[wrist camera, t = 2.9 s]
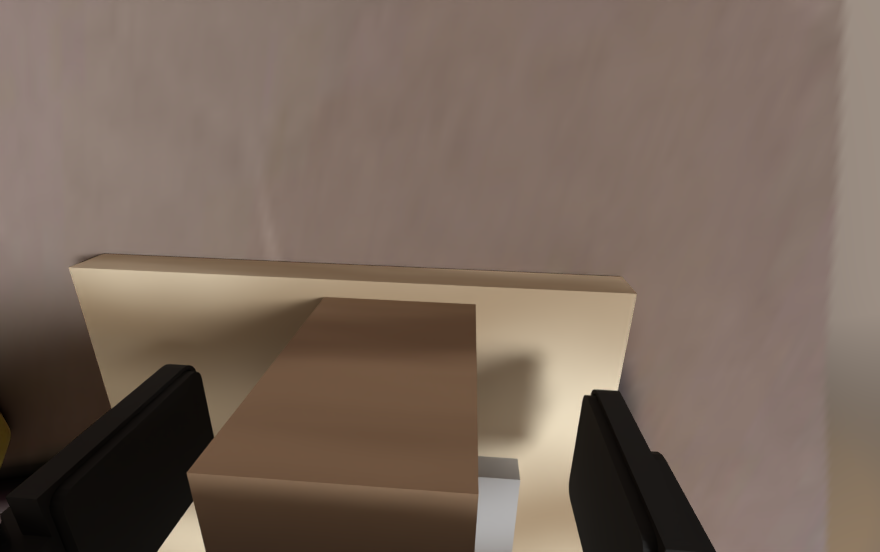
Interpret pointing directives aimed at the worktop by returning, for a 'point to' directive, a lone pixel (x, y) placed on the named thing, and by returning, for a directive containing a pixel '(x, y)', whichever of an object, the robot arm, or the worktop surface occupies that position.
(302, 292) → the board
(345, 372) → the block on grey plate
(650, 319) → the worktop surface
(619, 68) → the worktop surface
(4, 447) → the flower pot
